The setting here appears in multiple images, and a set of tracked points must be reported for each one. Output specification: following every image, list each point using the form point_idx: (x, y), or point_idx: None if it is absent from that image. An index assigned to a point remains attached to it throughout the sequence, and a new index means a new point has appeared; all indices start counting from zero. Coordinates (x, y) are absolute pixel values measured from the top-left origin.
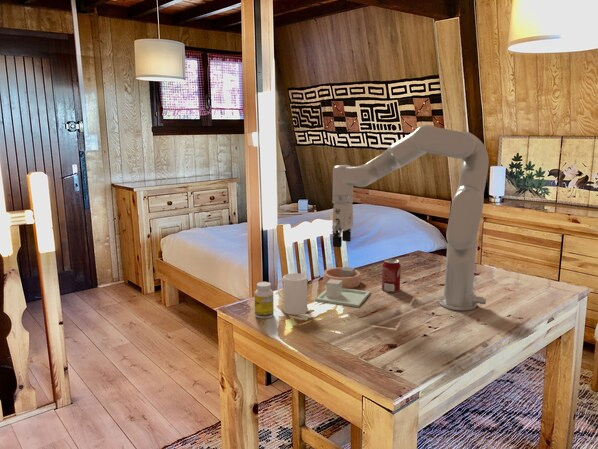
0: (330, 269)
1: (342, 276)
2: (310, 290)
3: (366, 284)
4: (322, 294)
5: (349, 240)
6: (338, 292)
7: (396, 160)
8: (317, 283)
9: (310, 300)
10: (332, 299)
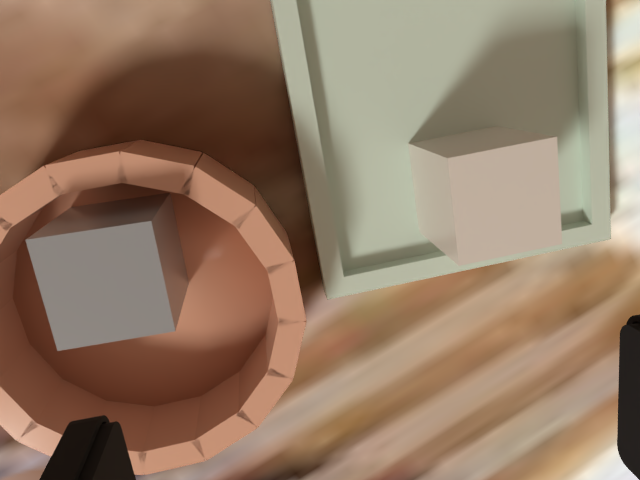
0: None
1: (179, 287)
2: (413, 378)
3: (28, 108)
4: None
5: (115, 431)
6: (509, 131)
7: None
8: None
9: (580, 274)
10: None
